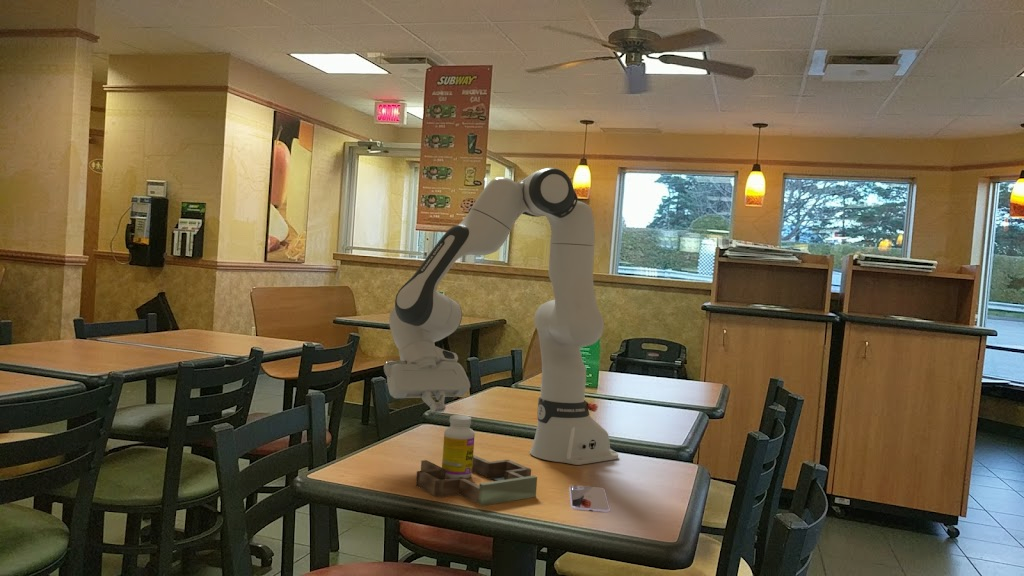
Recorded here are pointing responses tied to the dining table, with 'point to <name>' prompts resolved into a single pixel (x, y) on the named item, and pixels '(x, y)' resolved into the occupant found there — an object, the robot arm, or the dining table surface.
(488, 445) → the dining table surface
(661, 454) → the dining table surface
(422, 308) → the robot arm
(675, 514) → the dining table surface
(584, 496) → the mobile phone
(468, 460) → the supplement bottle
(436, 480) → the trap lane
